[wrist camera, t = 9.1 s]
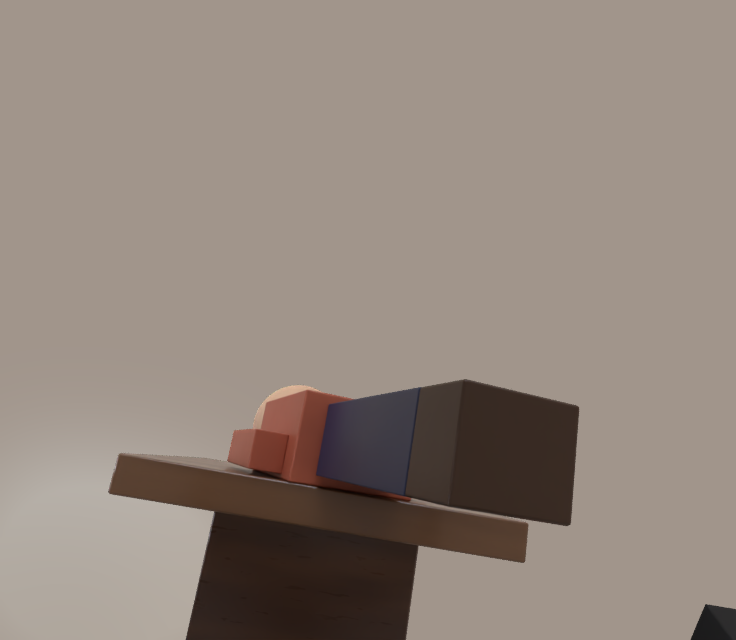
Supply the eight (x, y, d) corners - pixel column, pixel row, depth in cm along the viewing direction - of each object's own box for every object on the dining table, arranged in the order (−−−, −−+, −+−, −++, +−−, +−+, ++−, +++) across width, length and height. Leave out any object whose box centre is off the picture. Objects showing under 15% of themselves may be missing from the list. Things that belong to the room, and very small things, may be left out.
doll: (653, 557, 14) (661, 347, 15) (338, 510, 12) (380, 267, 13) (340, 482, 37) (354, 401, 38) (215, 461, 35) (234, 376, 36)
